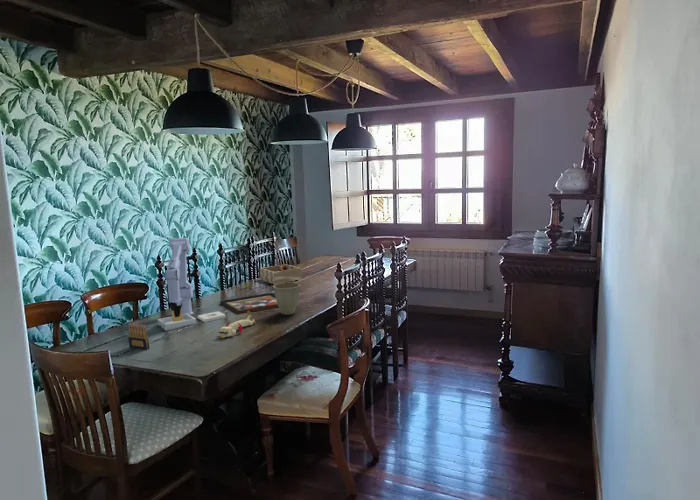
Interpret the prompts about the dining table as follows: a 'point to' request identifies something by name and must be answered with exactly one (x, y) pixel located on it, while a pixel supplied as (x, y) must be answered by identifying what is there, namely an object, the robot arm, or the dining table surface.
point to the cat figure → (235, 326)
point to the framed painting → (251, 303)
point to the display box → (280, 274)
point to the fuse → (177, 317)
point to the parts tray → (169, 324)
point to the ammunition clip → (138, 337)
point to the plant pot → (287, 296)
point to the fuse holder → (211, 316)
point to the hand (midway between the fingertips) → (176, 316)
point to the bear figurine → (283, 268)
